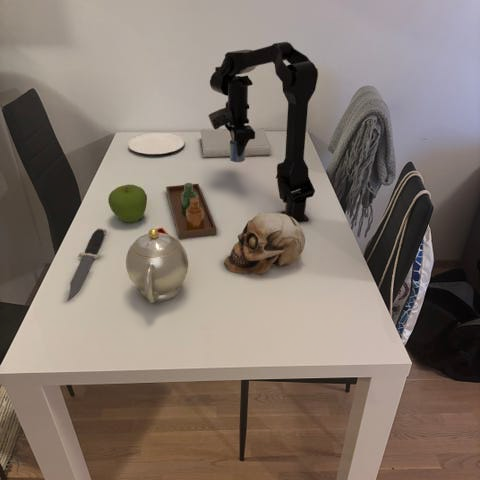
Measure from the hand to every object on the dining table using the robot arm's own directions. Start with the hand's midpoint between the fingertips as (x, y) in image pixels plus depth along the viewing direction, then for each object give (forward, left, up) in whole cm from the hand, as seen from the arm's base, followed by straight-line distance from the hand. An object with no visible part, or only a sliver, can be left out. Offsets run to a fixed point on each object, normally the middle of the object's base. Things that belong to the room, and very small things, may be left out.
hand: (237, 152), depth 148 cm
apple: (-17, +35, -10) cm, 40 cm away
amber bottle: (-27, +18, -9) cm, 34 cm away
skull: (-46, +4, -10) cm, 47 cm away
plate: (+36, +22, -10) cm, 44 cm away
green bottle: (-17, +18, -9) cm, 27 cm away
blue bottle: (0, 0, -2) cm, 2 cm away
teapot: (-54, +31, -10) cm, 63 cm away
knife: (-37, +47, -10) cm, 61 cm away
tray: (-16, +18, -10) cm, 26 cm away
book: (+29, -6, -10) cm, 32 cm away
